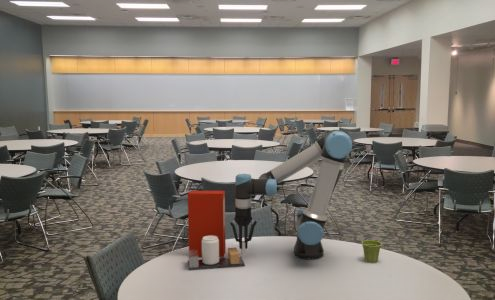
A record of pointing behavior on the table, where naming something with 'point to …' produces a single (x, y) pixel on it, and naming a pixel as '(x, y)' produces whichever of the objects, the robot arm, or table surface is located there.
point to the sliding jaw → (233, 255)
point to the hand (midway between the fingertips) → (243, 255)
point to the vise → (198, 265)
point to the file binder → (206, 218)
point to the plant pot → (371, 250)
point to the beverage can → (210, 250)
